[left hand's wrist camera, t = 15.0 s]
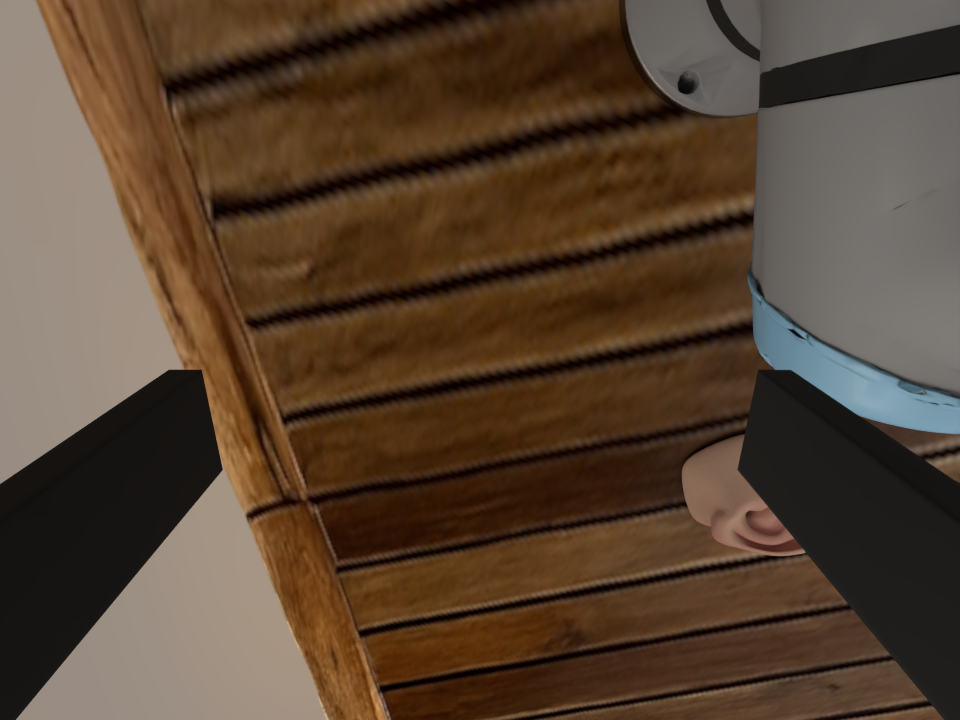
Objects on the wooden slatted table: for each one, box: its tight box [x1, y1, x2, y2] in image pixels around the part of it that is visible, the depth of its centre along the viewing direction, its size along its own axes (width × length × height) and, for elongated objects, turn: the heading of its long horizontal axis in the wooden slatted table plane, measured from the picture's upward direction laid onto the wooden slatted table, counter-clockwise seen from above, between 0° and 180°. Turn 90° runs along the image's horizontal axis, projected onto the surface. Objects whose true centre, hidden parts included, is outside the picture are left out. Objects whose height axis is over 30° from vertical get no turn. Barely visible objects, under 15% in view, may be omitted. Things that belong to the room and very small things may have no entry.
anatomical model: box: [682, 434, 806, 556], centre depth 45 cm, size 13×4×12 cm
